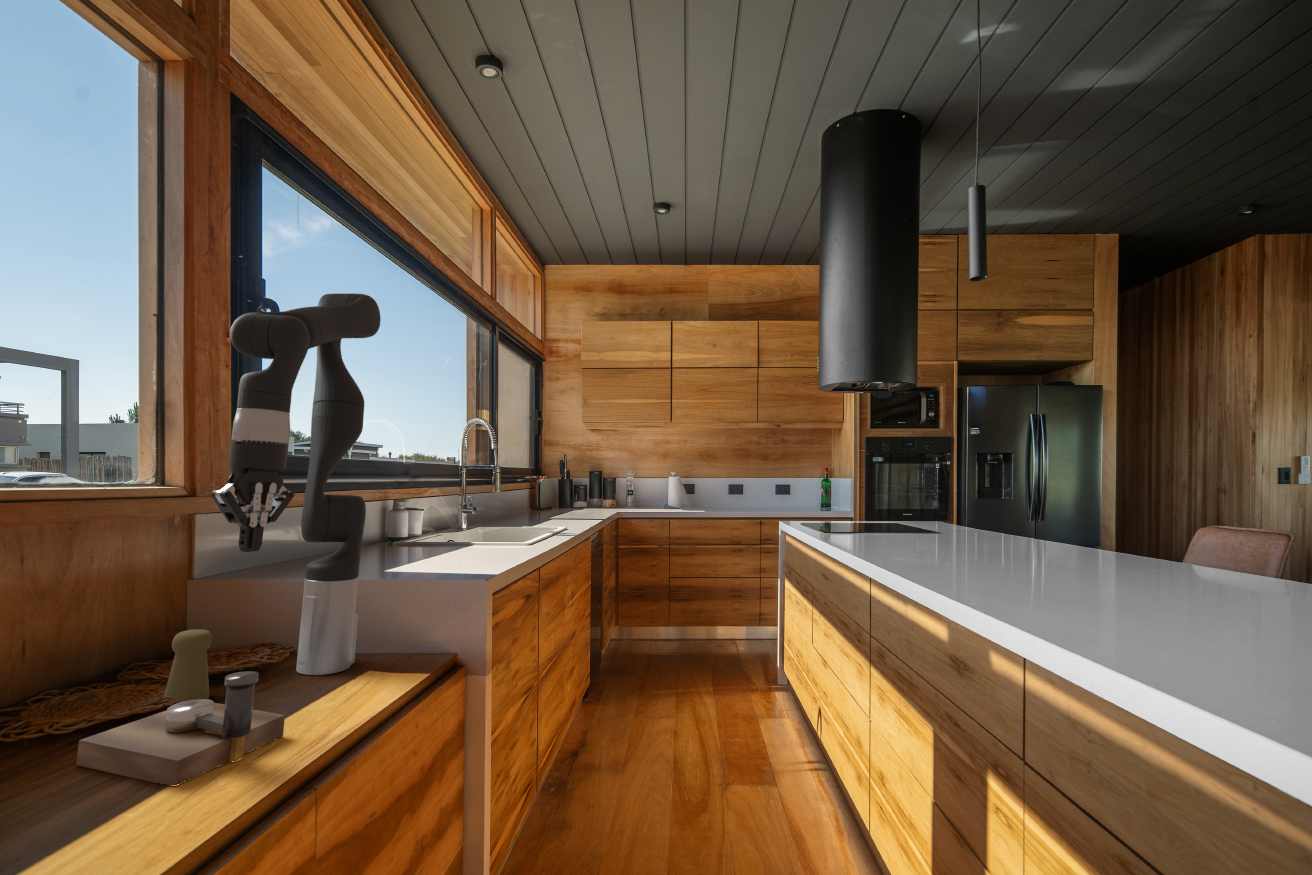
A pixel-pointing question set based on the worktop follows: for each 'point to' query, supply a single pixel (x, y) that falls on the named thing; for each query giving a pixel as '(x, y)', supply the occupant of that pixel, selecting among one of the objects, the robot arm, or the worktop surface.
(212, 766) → the stand
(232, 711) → the metal lever handle
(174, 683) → the olive tapered upright piece
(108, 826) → the worktop surface
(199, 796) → the worktop surface
